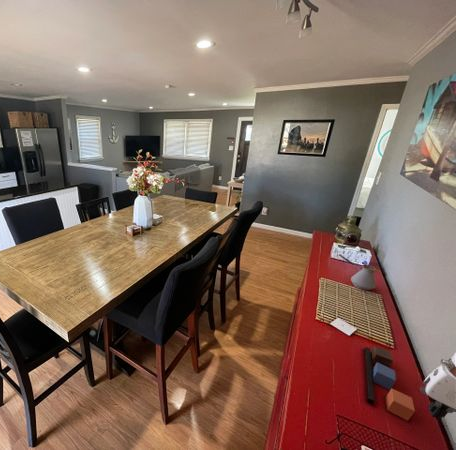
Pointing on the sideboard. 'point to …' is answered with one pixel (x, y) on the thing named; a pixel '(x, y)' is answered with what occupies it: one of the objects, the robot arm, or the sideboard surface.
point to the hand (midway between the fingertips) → (434, 413)
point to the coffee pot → (363, 276)
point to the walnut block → (381, 356)
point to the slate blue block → (383, 376)
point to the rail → (369, 376)
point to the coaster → (343, 326)
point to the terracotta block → (400, 404)
